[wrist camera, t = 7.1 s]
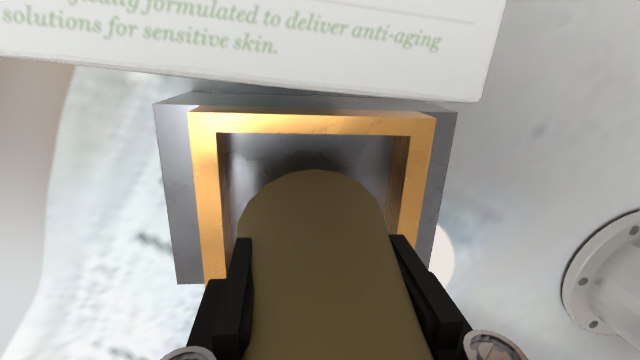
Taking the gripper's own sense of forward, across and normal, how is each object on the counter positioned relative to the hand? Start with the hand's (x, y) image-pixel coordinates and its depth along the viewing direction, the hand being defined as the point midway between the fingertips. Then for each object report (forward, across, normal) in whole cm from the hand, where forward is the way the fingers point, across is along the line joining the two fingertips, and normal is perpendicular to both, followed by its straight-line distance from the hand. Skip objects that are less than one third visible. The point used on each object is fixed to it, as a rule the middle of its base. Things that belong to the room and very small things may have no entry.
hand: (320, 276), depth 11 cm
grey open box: (+12, 0, 0) cm, 12 cm away
